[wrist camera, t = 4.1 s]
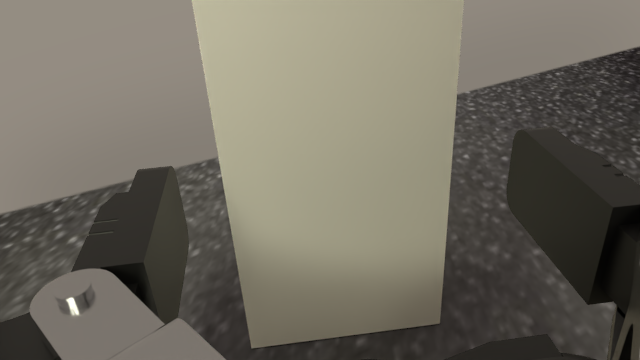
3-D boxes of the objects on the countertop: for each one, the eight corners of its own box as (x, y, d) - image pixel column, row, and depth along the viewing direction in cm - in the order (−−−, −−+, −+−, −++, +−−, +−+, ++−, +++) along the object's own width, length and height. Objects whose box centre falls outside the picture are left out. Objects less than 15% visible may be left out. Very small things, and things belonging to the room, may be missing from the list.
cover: (394, 220, 23) (399, -121, 17) (439, 323, 18) (473, -125, 11) (250, 236, 23) (198, -108, 16) (251, 348, 17) (173, -105, 11)
